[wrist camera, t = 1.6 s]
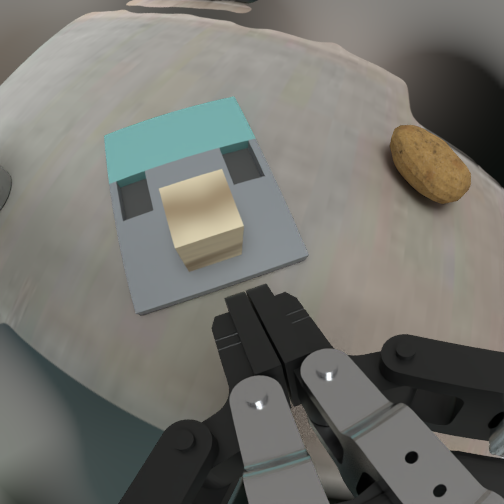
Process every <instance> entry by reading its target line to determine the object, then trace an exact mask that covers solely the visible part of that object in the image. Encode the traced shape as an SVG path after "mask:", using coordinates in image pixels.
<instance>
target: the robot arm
mask: <svg viewBox="0 0 504 504" xmlns="http://www.w3.org/2000/svg"><path fill="white" fill-rule="evenodd" d="M10 188H11V177H10V175H9V173H8V172H7V171H6V170H5V169H4V168H3V167H1V166H0V209H1V208H2V206H3V205H4V203H5V201H6V199H7V197H8V195H9V192H10ZM246 294H247V295H246ZM225 302H226V305H227V308H228V311H229V312H228V313H225V314H222V315H219V316H216V317H215V318H214V322H213V325H212V332H213V335H214V339H215V342H216V345H217V349H218V352H219V356H220V359H221V362H222V366H223V369H224V372H225V375H226V378H227V382H228V385H229V397H228V400H227V402H226V403H225V405H224V406H223V408H222V409H221V410H220V411H218V412H217V413H216V414H214V415H213V416H211V417H210V418H208V419H207V420H205V421H203V422H202V423H201V422H199V421H196V420H181V421H178V422H176V423H174V424H172V425H171V426H169V427H168V428H167V429H166V430H165V431H164V433H163V434H162V436H161V437H160V439H159V441H158V442H157V444H156V445H155V447H154V449H153V450H152V452H151V453H150V455H149V457H148V458H147V460H146V461H145V463H144V465H143V466H142V468H141V469H140V471H139V472H138V474H137V476H136V477H135V479H134V480H133V482H132V484H131V485H130V487H129V488H128V490H127V491H126V493H125V494H124V496H123V497H122V499H121V500H120V502H119V504H227V503H228V501H229V499H230V497H231V495H232V493H233V491H234V489H235V487H236V485H237V483H238V481H239V478H240V477H241V476H243V481H244V486H245V490H246V494H247V497H248V501H249V504H329V502H328V499H327V497H326V494H325V492H324V489H323V487H322V484H321V482H320V479H319V477H318V474H317V472H316V469H315V467H314V465H313V462H312V460H311V458H310V456H309V454H308V452H307V451H306V449H305V446H304V444H303V441H302V439H301V436H300V434H299V431H298V428H297V426H296V423H295V421H294V418H293V415H292V413H291V410H290V408H291V404H290V400H291V402H292V404H293V406H294V407H295V406H297V405H300V404H302V406H303V407H304V409H305V411H306V413H307V418H308V422H309V424H310V426H311V427H312V429H313V430H314V432H315V434H316V435H317V437H318V438H319V440H320V441H321V443H322V444H323V446H324V447H325V449H326V450H327V452H328V453H329V455H330V456H331V458H332V459H333V461H334V462H335V464H336V465H337V467H338V469H339V471H340V474H341V477H342V479H343V481H344V482H345V484H346V486H347V487H348V489H349V490H350V491H351V493H352V494H353V496H354V497H355V498H354V499H352V500H349V501H345V502H341V503H336V504H504V459H503V458H496V457H489V456H483V455H477V454H472V453H466V452H461V451H450V450H449V449H448V448H447V447H446V446H445V445H444V444H443V443H442V442H441V441H440V440H439V438H438V437H437V436H436V435H435V434H434V433H433V432H438V433H443V434H448V435H454V436H459V437H465V438H471V439H478V440H485V441H489V444H490V445H489V451H490V453H491V454H493V455H498V456H501V457H504V352H498V351H492V350H486V349H480V348H475V347H469V346H464V345H458V344H453V343H448V342H443V341H438V340H433V339H428V338H423V337H418V336H413V335H408V334H402V335H397V336H394V337H392V338H390V339H389V340H387V341H386V342H385V344H384V345H383V347H382V350H381V351H380V352H375V353H370V354H365V355H358V356H352V355H347V354H345V353H344V352H342V351H340V350H337V349H334V348H333V347H332V346H331V344H330V343H329V342H328V340H327V339H326V338H325V336H324V335H323V333H322V332H321V331H320V329H319V328H318V327H317V325H316V324H315V322H314V321H313V320H312V318H311V317H310V316H309V314H308V313H307V312H306V310H305V309H304V308H303V306H302V305H301V303H300V302H299V301H298V299H297V298H296V297H294V296H292V295H290V294H288V293H286V292H284V293H281V294H278V295H275V296H274V295H273V293H272V292H271V290H270V288H269V287H268V285H267V284H263V285H260V286H258V287H255V288H252V289H249V290H246V293H245V292H241V293H238V294H235V295H232V296H229V297H226V298H225ZM289 398H290V399H289ZM432 431H433V432H432Z"/></svg>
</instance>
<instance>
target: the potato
mask: <svg viewBox="0 0 504 504" xmlns="http://www.w3.org/2000/svg"><path fill="white" fill-rule="evenodd" d="M390 149H391V153H392V157H393V161H394V164H395V166H396V168H397V170H398V171H399V172H400V174H401V175H402V176H403V177H404V179H405V180H406V181H407V182H408V183H409V184H410V185H411V186H412V187H413V188H415V189H416V190H417V191H418V192H419V193H420V194H422V195H424V196H426V197H427V198H429V199H431V200H433V201H435V202H438V203H441V204H444V203H450V202H454V201H458V200H459V199H460V198H461V197H462V196H463V195H464V194H465V193H466V192H467V191H468V190H469V187H470V185H471V173H470V172H469V170H468V168H467V166H466V165H465V164H464V163H463V162H462V160H461V159H460V158H459V157H458V156H457V155H456V154H455V153H454V152H453V150H452V149H451V148H450V147H449V146H448V144H447V143H446V142H444V141H443V140H442V139H440V138H439V137H437V136H435V135H433V134H431V133H429V132H428V131H426V130H425V129H423V128H420V127H418V126H414V125H401V126H399V127H397V128H395V130H394V132H393V135H392V138H391V143H390Z"/></svg>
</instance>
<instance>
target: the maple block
mask: <svg viewBox="0 0 504 504" xmlns="http://www.w3.org/2000/svg"><path fill="white" fill-rule="evenodd" d="M159 191H160V195H161V199H162V203H163V207H164V210H165V214H166V218H167V222H168V225H169V229H170V233H171V236H172V240H173V243H174V247H175V249H176V251H177V253H178V254H179V256H180V258H181V259H182V261H183V263H184V264H185V266H186V268H187V269H188V271H189V272H191V271H194V270H197V269H200V268H203V267H206V266H209V265H212V264H215V263H218V262H221V261H224V260H227V259H230V258H233V257H236V256H239V255H242V244H243V231H244V225H243V222H242V220H241V217H240V214H239V212H238V209H237V207H236V204H235V201H234V199H233V196H232V194H231V191H230V188H229V186H228V183H227V181H226V178H225V175H224V173H223V170H222V169H220V170H216V171H213V172H210V173H206V174H203V175H200V176H196V177H193V178H190V179H187V180H184V181H181V182H177V183H174V184H171V185H168V186H165V187H162V188H159Z"/></svg>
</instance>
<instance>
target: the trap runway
mask: <svg viewBox="0 0 504 504" xmlns="http://www.w3.org/2000/svg"><path fill="white" fill-rule="evenodd" d="M104 139H105V151H106V161H107V169H108V178H109V185H110V193H111V199H112V206H113V212H114V218H115V224H116V229H117V235H118V240H119V245H120V250H121V255H122V259H123V264H124V268H125V273H126V277H127V281H128V285H129V289H130V293H131V297H132V301H133V305H134V309H135V312H136V314H139V315H144V314H147V313H150V312H154V311H157V310H160V309H163V308H166V307H169V306H172V305H175V304H178V303H181V302H184V301H187V300H190V299H193V298H196V297H199V296H202V295H205V294H208V293H211V292H214V291H217V290H220V289H223V288H226V287H229V286H232V285H235V284H238V283H241V282H244V281H247V280H250V279H253V278H255V277H258V276H261V275H264V274H267V273H270V272H273V271H275V270H278V269H281V268H284V267H287V266H290V265H292V264H295V263H298V262H301V261H304V260H305V259H306V258H307V257H308V255H309V254H308V252H307V249H306V247H305V245H304V242H303V240H302V238H301V236H300V233H299V231H298V229H297V226H296V224H295V222H294V220H293V217H292V215H291V213H290V211H289V208H288V206H287V204H286V202H285V200H284V197H283V195H282V193H281V191H280V189H279V187H278V184H277V182H276V180H275V178H274V176H273V174H272V172H271V169H270V167H269V165H268V163H267V161H266V159H265V157H264V155H263V153H262V151H261V149H260V147H259V145H258V142H257V140H256V138H255V136H254V134H253V132H252V130H251V128H250V126H249V124H248V122H247V120H246V118H245V116H244V114H243V112H242V110H241V109H240V107H239V105H238V103H237V101H236V99H235V97H229V98H225V99H220V100H216V101H212V102H208V103H204V104H200V105H196V106H192V107H189V108H185V109H181V110H178V111H174V112H171V113H168V114H164V115H161V116H158V117H155V118H152V119H149V120H146V121H143V122H140V123H137V124H134V125H131V126H128V127H126V128H123V129H120V130H118V131H115V132H112V133H110V134H107V135H105V136H104ZM220 169H222V170H223V173H224V175H225V178H226V181H227V183H228V186H229V188H230V191H231V194H232V196H233V199H234V201H235V204H236V207H237V209H238V212H239V214H240V217H241V220H242V222H243V225H244V231H243V244H242V255H239V256H236V257H233V258H230V259H227V260H224V261H221V262H218V263H215V264H212V265H209V266H206V267H203V268H200V269H197V270H194V271H191V272H189V271H188V269H187V268H186V266H185V264H184V263H183V261H182V259H181V258H180V256H179V254H178V253H177V251H176V249H175V247H174V243H173V240H172V236H171V233H170V229H169V225H168V222H167V218H166V214H165V210H164V207H163V203H162V199H161V195H160V191H159V188H162V187H165V186H168V185H171V184H174V183H177V182H181V181H184V180H187V179H190V178H193V177H196V176H200V175H203V174H206V173H210V172H213V171H216V170H220Z"/></svg>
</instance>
